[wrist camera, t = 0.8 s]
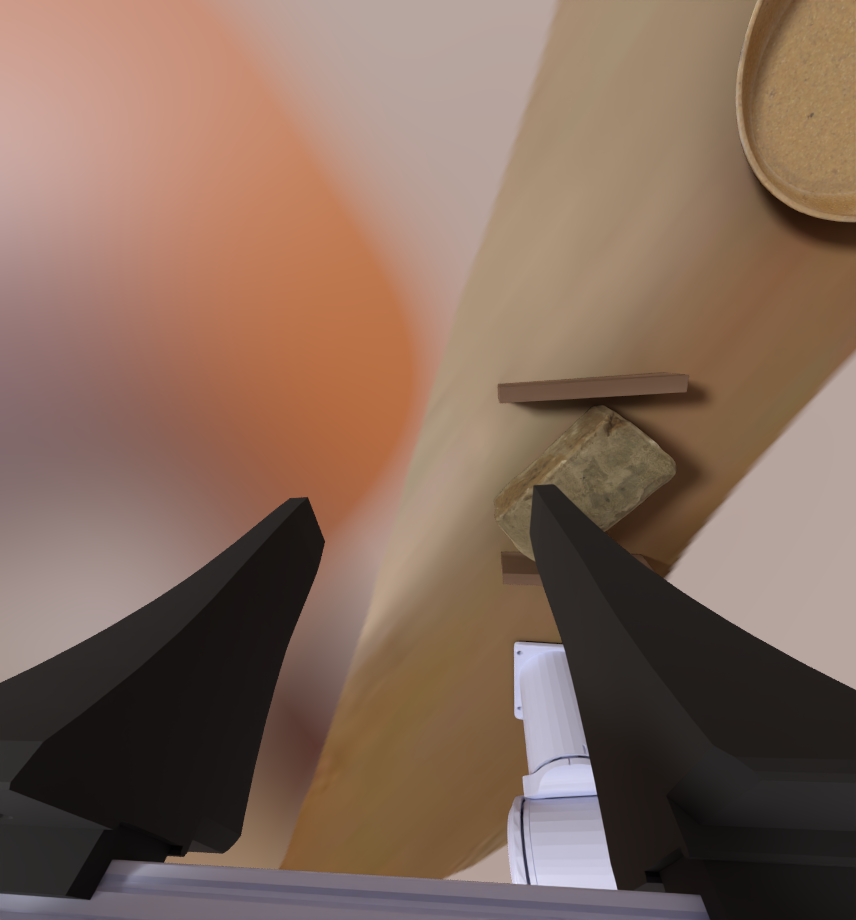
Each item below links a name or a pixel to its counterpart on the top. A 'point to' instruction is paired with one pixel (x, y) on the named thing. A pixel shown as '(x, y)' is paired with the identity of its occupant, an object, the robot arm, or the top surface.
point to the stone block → (588, 474)
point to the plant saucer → (801, 104)
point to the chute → (516, 563)
